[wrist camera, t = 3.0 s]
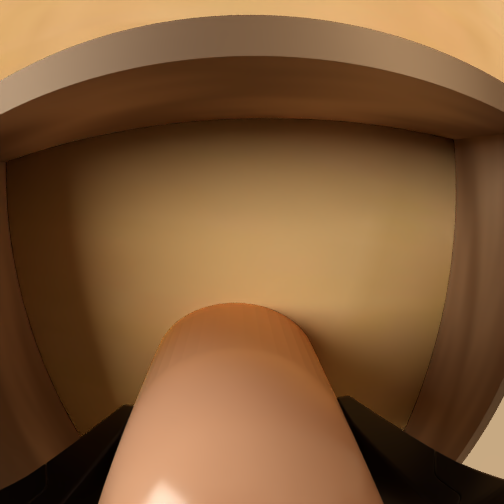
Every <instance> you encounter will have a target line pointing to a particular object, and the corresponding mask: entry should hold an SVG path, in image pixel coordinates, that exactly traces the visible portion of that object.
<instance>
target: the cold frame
mask: <svg viewBox="0 0 504 504" xmlns="http://www.w3.org/2000/svg"><path fill="white" fill-rule="evenodd" d="M244 118H293V119H317V120H332V121H344V122H354V123H364V124H372V125H379V126H387V127H393V128H400V129H406V130H411V131H417V132H422V133H427V134H432V135H437V136H441V137H445V138H450V139H454V143H455V158H456V218H455V234H454V245H453V255H452V263H451V270H450V277H449V284H448V290H447V295H446V300H445V306H444V310H443V315H442V320H441V324H440V328H439V332H438V336H437V340H436V344H435V347H434V351H433V354H432V358H431V361H430V364H429V368H428V371H427V374H426V377H425V380H424V383H423V386H422V388H421V391H420V394H419V397H418V399H417V402H416V404H415V407H414V409H413V412H412V414H411V417H410V419H409V421H408V424H407V426H406V428H405V430H404V432H406V433H407V434H409V435H411V436H412V437H414V438H416V439H417V440H419V441H421V442H422V443H424V444H426V445H427V446H429V447H431V448H433V449H434V450H435V451H438V452H440V453H441V454H443V455H445V456H447V457H449V458H451V459H453V460H455V461H457V462H459V463H461V464H462V463H463V461H464V460H465V458H466V457H467V456H468V454H469V453H470V452H471V450H472V449H473V447H474V446H475V444H476V443H477V441H478V440H479V438H480V436H481V435H482V433H483V432H484V430H485V429H486V427H487V425H488V424H489V422H490V420H491V418H492V417H493V415H494V413H495V412H496V410H497V408H498V406H499V404H500V402H501V400H502V398H503V396H504V83H503V82H501V81H500V80H498V79H496V78H494V77H493V76H491V75H489V74H487V73H485V72H483V71H482V70H480V69H478V68H476V67H474V66H472V65H470V64H468V63H466V62H463V61H461V60H459V59H457V58H455V57H452V56H450V55H448V54H445V53H443V52H440V51H438V50H435V49H433V48H430V47H428V46H425V45H422V44H419V43H416V42H413V41H410V40H407V39H404V38H401V37H398V36H394V35H391V34H387V33H384V32H380V31H376V30H372V29H368V28H363V27H359V26H354V25H349V24H344V23H338V22H332V21H325V20H318V19H310V18H301V17H289V16H272V15H228V16H211V17H199V18H190V19H182V20H175V21H168V22H162V23H156V24H151V25H146V26H141V27H137V28H132V29H128V30H124V31H120V32H116V33H113V34H109V35H106V36H102V37H99V38H96V39H93V40H90V41H87V42H84V43H81V44H78V45H75V46H73V47H70V48H67V49H65V50H62V51H60V52H57V53H55V54H53V55H50V56H48V57H46V58H43V59H41V60H39V61H37V62H35V63H33V64H31V65H29V66H27V67H25V68H23V69H21V70H19V71H17V72H15V73H13V74H11V75H10V76H8V77H6V78H4V79H3V80H1V81H0V490H1V489H3V488H5V487H7V486H9V485H11V484H13V483H15V482H17V481H18V480H20V479H22V478H24V477H26V476H27V475H29V474H30V473H32V472H33V471H35V470H36V469H38V468H39V467H41V466H42V465H44V464H46V463H47V462H48V461H49V460H51V459H52V458H54V457H55V456H56V455H58V454H59V453H61V452H62V451H63V450H65V449H66V448H67V447H69V446H70V445H71V444H73V443H74V442H75V441H77V440H78V439H80V438H81V437H80V436H79V434H78V432H77V431H76V429H75V427H74V425H73V424H72V422H71V420H70V418H69V416H68V415H67V413H66V411H65V409H64V407H63V405H62V403H61V401H60V399H59V397H58V395H57V393H56V391H55V388H54V386H53V384H52V382H51V380H50V377H49V375H48V373H47V370H46V368H45V366H44V363H43V361H42V358H41V355H40V353H39V350H38V347H37V345H36V342H35V339H34V336H33V333H32V330H31V327H30V324H29V321H28V317H27V314H26V310H25V307H24V303H23V299H22V295H21V291H20V287H19V283H18V278H17V274H16V269H15V264H14V258H13V252H12V246H11V239H10V232H9V223H8V213H7V199H6V162H7V161H10V160H13V159H16V158H18V157H21V156H24V155H27V154H31V153H34V152H37V151H40V150H43V149H47V148H50V147H54V146H57V145H61V144H65V143H69V142H73V141H77V140H81V139H85V138H90V137H94V136H99V135H104V134H109V133H114V132H119V131H125V130H131V129H137V128H143V127H150V126H157V125H165V124H173V123H183V122H193V121H205V120H221V119H244Z"/></svg>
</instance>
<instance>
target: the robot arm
mask: <svg viewBox="0 0 504 504" xmlns="http://www.w3.org/2000/svg"><path fill="white" fill-rule="evenodd" d="M337 400H338V402H339V405H340V407H341V409H342V411H343V413H344V416H345V418H346V420H347V422H348V424H349V427H350V429H351V431H352V433H353V435H354V438H355V440H356V442H357V444H358V447H359V449H360V451H361V453H362V455H363V458H364V460H365V462H366V464H367V467H368V469H369V471H370V473H371V476H372V478H373V480H374V483H375V485H376V487H377V489H378V492H379V494H380V496H381V499H382V501H383V503H384V504H504V479H501V478H498V477H495V476H492V475H489V474H486V473H484V472H481V471H478V470H475V469H472V468H470V467H468V466H465V465H463V464H461V463H459V462H457V461H455V460H453V459H451V458H449V457H447V456H445V455H443V454H441V453H440V452H438V451H435V450H434V449H433V448H431V447H429V446H427V445H426V444H424V443H422V442H421V441H419V440H417V439H416V438H414V437H412V436H411V435H409V434H407V433H406V432H404V431H403V430H401V429H399V428H398V427H396V426H395V425H393V424H391V423H390V422H388V421H387V420H385V419H384V418H382V417H381V416H379V415H377V414H376V413H374V412H373V411H371V410H370V409H368V408H367V407H365V406H364V405H362V404H361V403H359V402H358V401H356V400H355V399H353V398H352V397H350V396H342V397H337ZM133 407H134V405H127V404H125V405H123V406H121V407H120V408H119V409H117V410H116V411H115V412H114V413H112V414H111V415H110V416H108V417H107V418H106V419H105V420H103V421H102V422H101V423H99V424H98V425H97V426H95V427H94V428H93V429H91V430H90V431H89V432H88V433H86V434H85V435H84V436H82V437H81V438H80V439H78V440H77V441H75V442H74V443H73V444H71V445H70V446H69V447H67V448H66V449H65V450H63V451H62V452H61V453H59V454H58V455H56V456H55V457H54V458H52V459H51V460H49V461H48V462H47V463H46V464H44V465H42V466H41V467H39V468H38V469H36V470H35V471H33V472H32V473H30V474H29V475H27V476H26V477H24V478H22V479H20V480H18V481H17V482H15V483H13V484H11V485H9V486H7V487H5V488H3V489H1V490H0V504H98V502H99V499H100V496H101V493H102V490H103V487H104V484H105V481H106V479H107V476H108V473H109V470H110V467H111V464H112V462H113V459H114V456H115V453H116V451H117V448H118V445H119V443H120V440H121V437H122V435H123V432H124V429H125V427H126V424H127V422H128V419H129V417H130V414H131V412H132V409H133Z"/></svg>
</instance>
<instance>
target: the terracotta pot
mask: <svg viewBox="0 0 504 504" xmlns="http://www.w3.org/2000/svg"><path fill="white" fill-rule="evenodd" d="M98 504H384V503H383V501H382V499H381V496H380V494H379V492H378V489H377V487H376V485H375V483H374V480H373V478H372V476H371V473H370V471H369V469H368V467H367V464H366V462H365V460H364V458H363V455H362V453H361V451H360V449H359V447H358V444H357V442H356V440H355V438H354V435H353V433H352V431H351V429H350V427H349V424H348V422H347V420H346V418H345V416H344V413H343V411H342V409H341V407H340V405H339V402H338V400H337V398H336V396H335V394H334V392H333V389H332V387H331V385H330V383H329V381H328V379H327V376H326V374H325V372H324V370H323V368H322V366H321V364H320V361H319V359H318V357H317V355H316V353H315V351H314V349H313V347H312V344H311V343H310V341H309V339H308V337H307V336H306V334H305V333H304V332H303V330H302V329H301V328H300V327H299V326H298V325H296V324H295V323H294V322H293V321H292V320H290V319H289V318H287V317H286V316H284V315H282V314H280V313H278V312H276V311H274V310H271V309H268V308H266V307H262V306H258V305H253V304H245V303H225V304H217V305H212V306H208V307H205V308H202V309H199V310H196V311H194V312H192V313H190V314H188V315H186V316H185V317H183V318H182V319H180V320H179V321H177V322H176V323H175V324H174V325H173V326H172V327H171V328H170V329H169V330H168V332H167V333H166V334H165V335H164V337H163V339H162V341H161V343H160V345H159V347H158V349H157V352H156V354H155V356H154V358H153V361H152V363H151V365H150V368H149V370H148V373H147V375H146V377H145V380H144V382H143V384H142V387H141V389H140V392H139V394H138V397H137V399H136V402H135V404H134V407H133V409H132V412H131V414H130V417H129V419H128V422H127V424H126V427H125V429H124V432H123V435H122V437H121V440H120V443H119V445H118V448H117V451H116V453H115V456H114V459H113V462H112V464H111V467H110V470H109V473H108V476H107V479H106V481H105V484H104V487H103V490H102V493H101V496H100V499H99V502H98Z"/></svg>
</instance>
